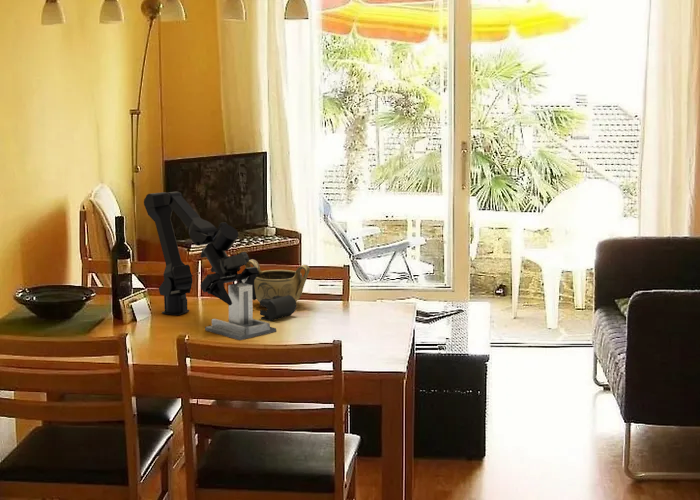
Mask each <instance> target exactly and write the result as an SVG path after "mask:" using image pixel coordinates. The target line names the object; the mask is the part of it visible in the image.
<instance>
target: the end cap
mask: <svg viewBox="0 0 700 500" xmlns="http://www.w3.org/2000/svg"><path fill="white" fill-rule="evenodd" d="M259 307H263V308H266V310H264V309H259V315H260V316H261V317H260V321H262V320H263V321H265V322H266V321H267V322H273V321H276V320H279V319H284V318H286V317H290V316H291V315H293V314H294V313H295V312H296V311H297V301H295V299H294V298H293V297H292V296H290V295H287V296H274V297H273V299H266V298H265V299H262V300H260V302H259Z"/></svg>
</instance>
